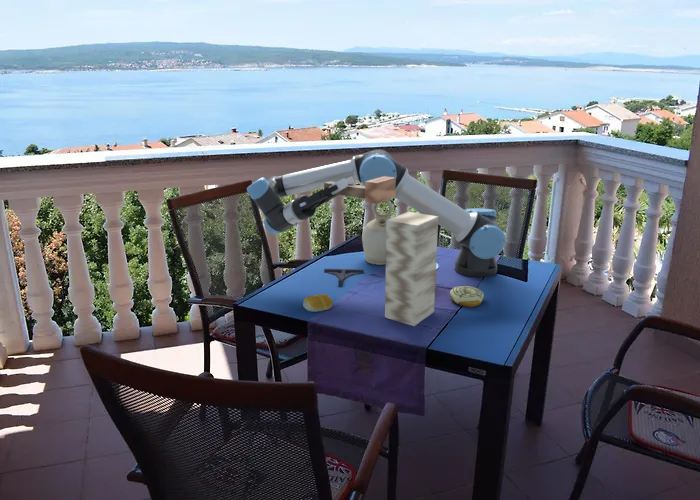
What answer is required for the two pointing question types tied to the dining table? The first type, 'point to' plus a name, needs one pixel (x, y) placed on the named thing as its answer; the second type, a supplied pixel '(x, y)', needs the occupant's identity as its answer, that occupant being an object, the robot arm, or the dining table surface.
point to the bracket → (343, 273)
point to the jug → (376, 236)
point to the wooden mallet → (370, 190)
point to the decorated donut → (467, 296)
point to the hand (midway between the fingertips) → (349, 181)
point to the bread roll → (317, 303)
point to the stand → (410, 267)
